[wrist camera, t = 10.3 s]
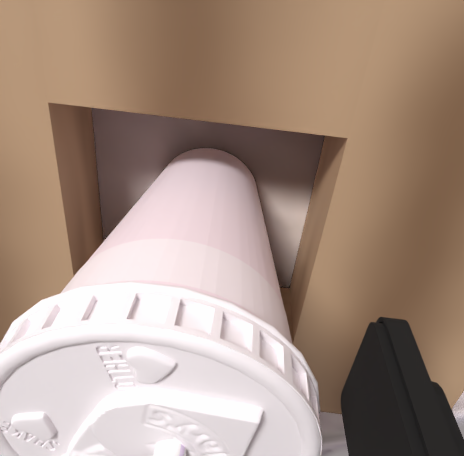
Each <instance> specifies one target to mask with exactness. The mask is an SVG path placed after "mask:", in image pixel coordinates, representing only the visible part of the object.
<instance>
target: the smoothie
mask: <svg viewBox="0 0 464 456" xmlns="http://www.w3.org/2000/svg"><path fill="white" fill-rule="evenodd" d="M319 413H320V401H319V391H318V382H317V380H316V379H315V377H314V375H313V373H312V371H311V369H310V367H309V366H308V364H307V362H306V360H305V358H304V356H303V354H302V353H301V352H300V351H299V350H298V349H297V348H296V347H295V346H294V345H293V344H292V340H291V335H290V330H289V325H288V320H287V316H286V312H285V309H284V305H283V301H282V296H281V292H280V288H279V283H278V279H277V274H276V270H275V266H274V261H273V257H272V252H271V248H270V244H269V239H268V235H267V231H266V226H265V222H264V217H263V213H262V209H261V204H260V200H259V195H258V191H257V187H256V183H255V180H254V178H253V175H252V174H251V172H250V170H249V169H248V168H247V167H246V165H245V164H244V163H243V162H241V161H240V160H239V159H238V158H236V157H235V156H233V155H231V154H229V153H227V152H224V151H221V150H218V149H212V148H199V149H193V150H190V151H187V152H184V153H182V154H180V155H179V156H177V157H176V158H174V159H173V160H172V161H171V162H170V163H169V164H168V165H167V167H166V168H165V169H164V170H163V171H162V173H161V174H160V175H159V176H158V177H157V179H156V180H155V181H154V182H153V183H152V185H151V186H150V187H149V188H148V189H147V191H146V192H145V193H144V194H143V195H142V196H141V198H140V199H139V200H138V201H137V202H136V204H135V205H134V206H133V207H132V208H131V210H130V211H129V212H128V213H127V214H126V216H125V217H124V218H123V219H122V220H121V221H120V223H119V224H118V225H117V226H116V227H115V229H114V230H113V231H112V232H111V233H110V235H109V236H108V237H107V238H106V239H105V241H104V242H103V243H102V244H101V245H100V247H99V248H98V249H97V250H96V251H95V252H94V254H93V255H92V256H91V257H90V258H89V260H88V261H87V262H86V263H85V264H84V265H83V266H82V267H81V268H80V269H79V271H78V272H77V273H76V274H75V276H74V277H73V278H72V279H71V281H70V282H69V283H68V284H67V286H66V287H65V288H64V289H63V291H62V292H61V293H60V294H57V295H54V296H51V297H48V298H45V299H43V300H41V301H39V302H38V303H37V304H35V305H34V306H33V307H31V308H30V309H29V310H27V311H26V312H25V313H23V314H22V315H21V316H19V317H18V318H17V319H16V320H14V321H13V322H12V324H11V326H10V327H9V329H8V331H7V333H6V334H5V336H4V338H3V340H2V341H1V343H0V455H1V456H321V452H322V434H321V428H320V420H319Z"/></svg>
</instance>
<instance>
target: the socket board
mask: <svg viewBox="0 0 464 456" xmlns="http://www.w3.org/2000/svg"><path fill="white" fill-rule="evenodd" d="M91 108H99V109H107V110H116V111H124V112H132V113H141V114H149V115H158V116H166V117H174V118H183V119H191V120H199V121H208V122H216V123H225V124H233V125H241V126H250V127H258V128H267V129H275V130H283V131H292V132H300V133H308V134H317V135H325V138H324V143H323V147H322V151H321V156H320V160H319V164H318V168H317V173H316V177H315V181H314V186H313V190H312V194H311V198H310V203H309V207H308V211H307V215H306V220H305V224H304V228H303V233H302V237H301V241H300V245H299V250H298V254H297V258H296V263H295V267H294V271H293V275H292V280H291V284H290V288H282V287H279V288H280V292H281V296H282V301H283V305H284V309H285V312H286V316H287V320H288V325H289V330H290V335H291V340H292V344H293V345H294V346H295V347H296V348H297V349H298V350H299V351H300V352H301V353H302V354H303V356H304V358H305V360H306V362H307V364H308V366H309V367H310V369H311V371H312V373H313V375H314V377H315V379H316V380H317V382H318V391H319V401H320V411H321V412H329V413H337V414H342V411H341V393H342V390H343V387H344V385H345V382H346V380H347V377H348V375H349V372H350V370H351V367H352V365H353V362H354V360H355V357H356V355H357V352H358V350H359V347H360V345H361V342H362V340H363V337H364V335H365V332H366V330H367V327H368V325H369V323H370V322H376V321H377V320H378V318H379V317H387V318H395V319H403V320H406V321H407V322H408V323H409V325H410V328H411V330H412V333H413V335H414V338H415V341H416V343H417V346H418V348H419V351H420V354H421V356H422V359H423V361H424V364H425V366H426V369H427V372H428V374H429V377H430V379H431V381H433V382H436V383H438V384H439V385H440V386H441V387H442V389H443V391H444V393H445V395H446V398H447V400H448V402H449V405H450V407H451V409H452V408H453V406H454V405H455V403H456V402H457V400H458V399H459V397H460V396H461V394H462V393H463V391H464V0H0V343H1V341H2V340H3V338H4V336H5V334H6V333H7V331H8V329H9V327H10V326H11V324H12V322H13V321H14V320H16V319H17V318H18V317H19V316H21V315H22V314H23V313H25V312H26V311H27V310H29V309H30V308H31V307H33V306H34V305H35V304H37V303H38V302H39V301H41V300H43V299H45V298H48V297H51V296H54V295H57V294H60V293H61V292H62V291H63V289H64V288H65V287H66V286H67V284H68V283H69V282H70V281H71V279H72V278H73V277H74V276H75V274H76V273H77V272H78V271H79V269H80V268H81V267H82V266H83V265H84V264H85V263H86V262H87V261H88V260H89V258H90V257H91V256H92V255H93V254H94V252H95V251H96V250H97V249H98V248H99V247H100V245H101V244H102V243H103V232H102V221H101V210H100V199H99V188H98V177H97V165H96V154H95V143H94V132H93V121H92V110H91Z"/></svg>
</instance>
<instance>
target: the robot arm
mask: <svg viewBox="0 0 464 456" xmlns="http://www.w3.org/2000/svg"><path fill="white" fill-rule="evenodd" d="M341 411H342V417H343V423H344V429H345V435H346V441H347V447H348V453H349V456H464V439H463V437H462V434H461V432H460V429H459V427H458V424H457V422H456V420H455V417H454V415H453V412H452V410H451V407H450V405H449V402H448V400H447V398H446V395H445V393H444V391H443V389H442V387H441V386H440V385H439V384H438V383H436V382H433V381H431V379H430V377H429V374H428V372H427V369H426V366H425V364H424V361H423V359H422V356H421V354H420V351H419V348H418V346H417V343H416V341H415V338H414V335H413V333H412V330H411V328H410V325H409V323H408V322H407V321H406V320H403V319H395V318H387V317H379V318H378V320H377V321H376V322H370V323H369V325H368V327H367V330H366V332H365V335H364V337H363V340H362V342H361V345H360V347H359V350H358V352H357V355H356V357H355V360H354V362H353V365H352V367H351V370H350V372H349V375H348V377H347V380H346V382H345V385H344V387H343V390H342V393H341Z"/></svg>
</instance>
